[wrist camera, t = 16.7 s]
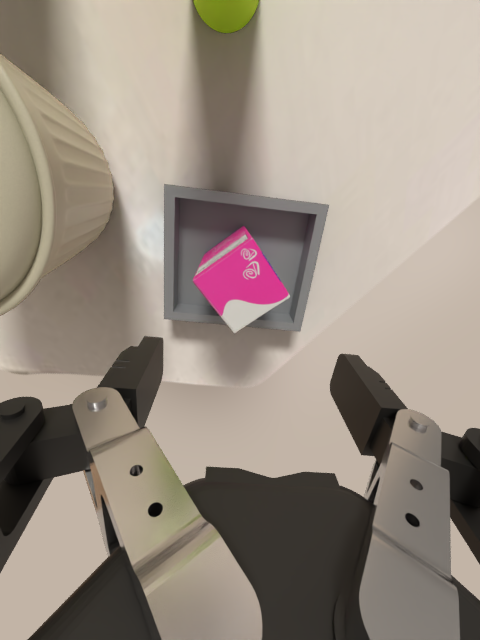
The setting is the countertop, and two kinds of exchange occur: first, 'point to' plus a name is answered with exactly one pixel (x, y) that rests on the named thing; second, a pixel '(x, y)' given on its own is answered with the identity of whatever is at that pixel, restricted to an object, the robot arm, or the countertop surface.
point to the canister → (44, 185)
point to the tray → (220, 222)
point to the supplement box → (239, 280)
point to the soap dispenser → (226, 13)
